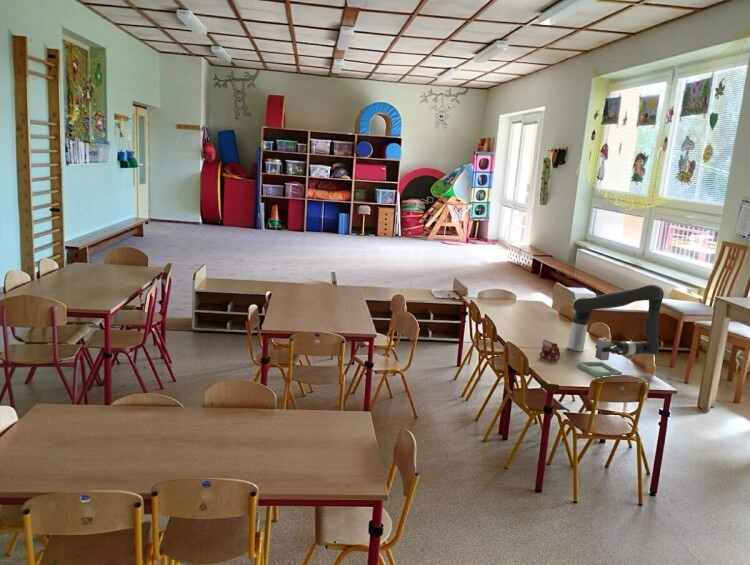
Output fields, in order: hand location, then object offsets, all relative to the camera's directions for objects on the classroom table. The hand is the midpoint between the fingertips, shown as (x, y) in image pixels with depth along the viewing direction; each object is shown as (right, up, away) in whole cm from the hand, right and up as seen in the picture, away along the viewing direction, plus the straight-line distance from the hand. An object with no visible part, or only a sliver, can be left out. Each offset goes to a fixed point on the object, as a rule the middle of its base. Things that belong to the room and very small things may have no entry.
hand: (599, 348), depth 335 cm
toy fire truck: (-22, -9, +19) cm, 31 cm away
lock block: (+2, -6, +2) cm, 7 cm away
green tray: (+1, -14, +4) cm, 14 cm away
